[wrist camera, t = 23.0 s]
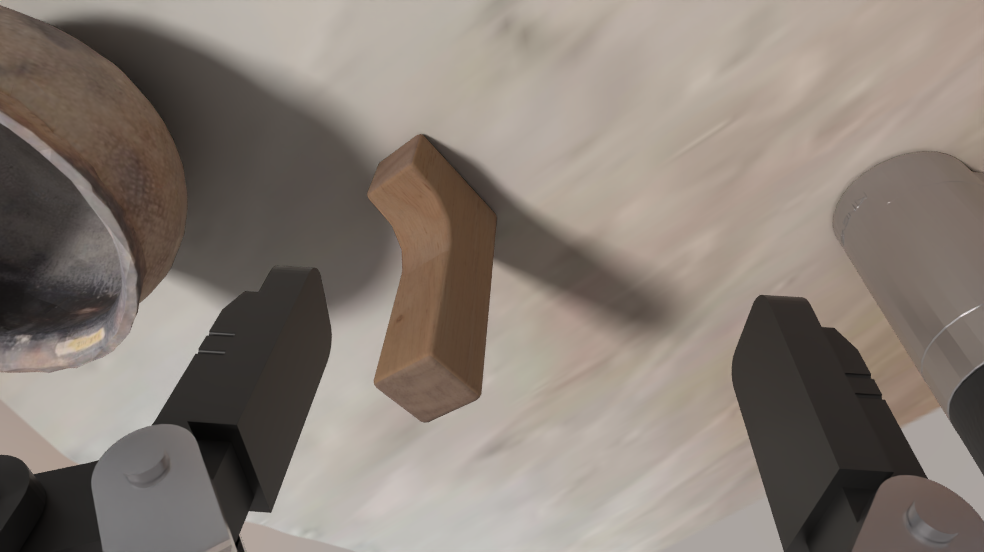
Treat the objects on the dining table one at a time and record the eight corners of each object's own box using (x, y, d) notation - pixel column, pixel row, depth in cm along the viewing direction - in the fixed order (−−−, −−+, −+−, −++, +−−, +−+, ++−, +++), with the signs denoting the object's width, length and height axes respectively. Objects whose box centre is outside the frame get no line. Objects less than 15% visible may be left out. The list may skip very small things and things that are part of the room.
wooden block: (376, 163, 46) (307, 339, 32) (421, 129, 44) (368, 302, 30) (455, 242, 50) (423, 427, 36) (499, 215, 48) (483, 400, 34)
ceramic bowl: (-162, 48, 42) (-423, 157, 31) (39, -126, 35) (-205, -67, 23) (102, 273, 54) (-14, 411, 43) (293, 180, 47) (214, 317, 36)
